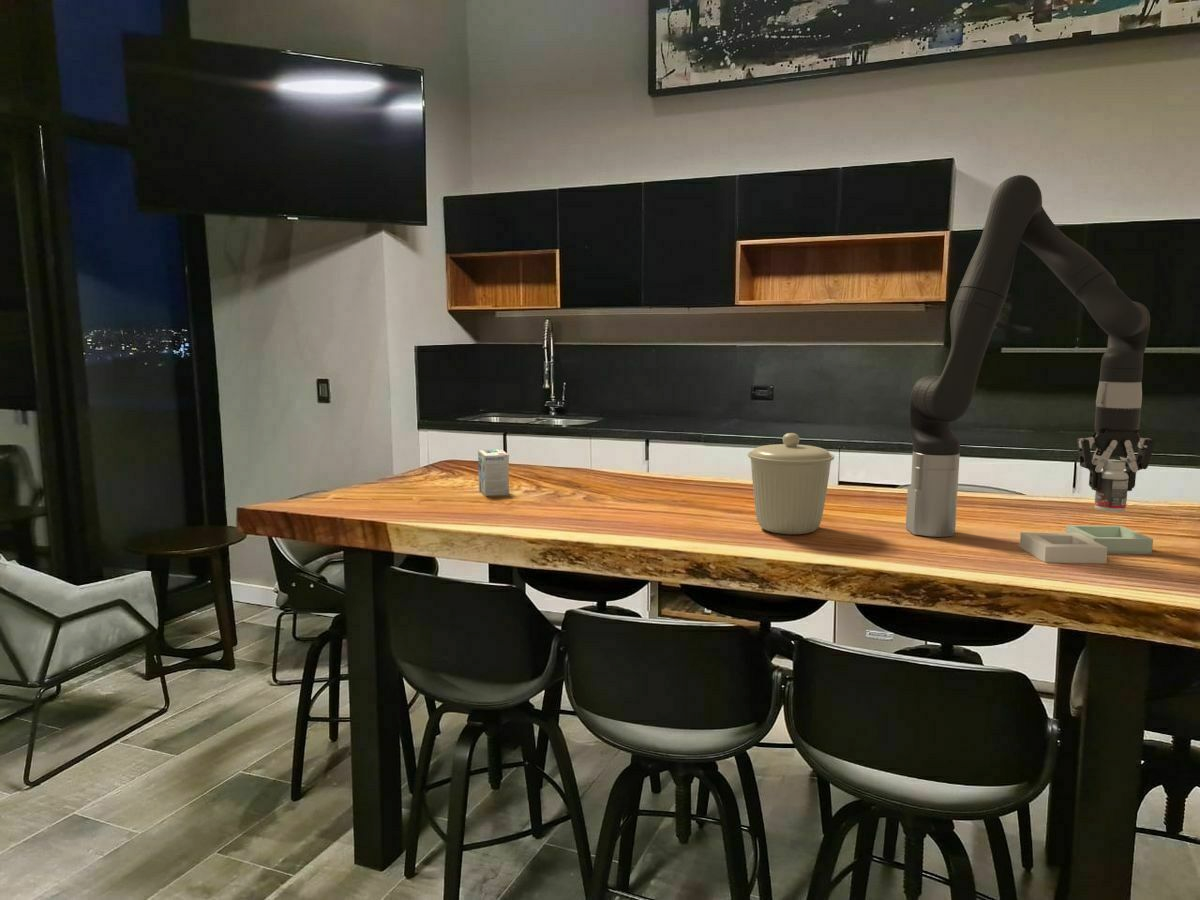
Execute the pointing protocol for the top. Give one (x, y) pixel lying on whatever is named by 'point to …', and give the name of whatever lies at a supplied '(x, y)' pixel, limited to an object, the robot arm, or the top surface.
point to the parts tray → (1115, 538)
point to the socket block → (1063, 547)
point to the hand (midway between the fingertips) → (1111, 489)
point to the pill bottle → (1112, 487)
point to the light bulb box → (493, 472)
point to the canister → (790, 485)
